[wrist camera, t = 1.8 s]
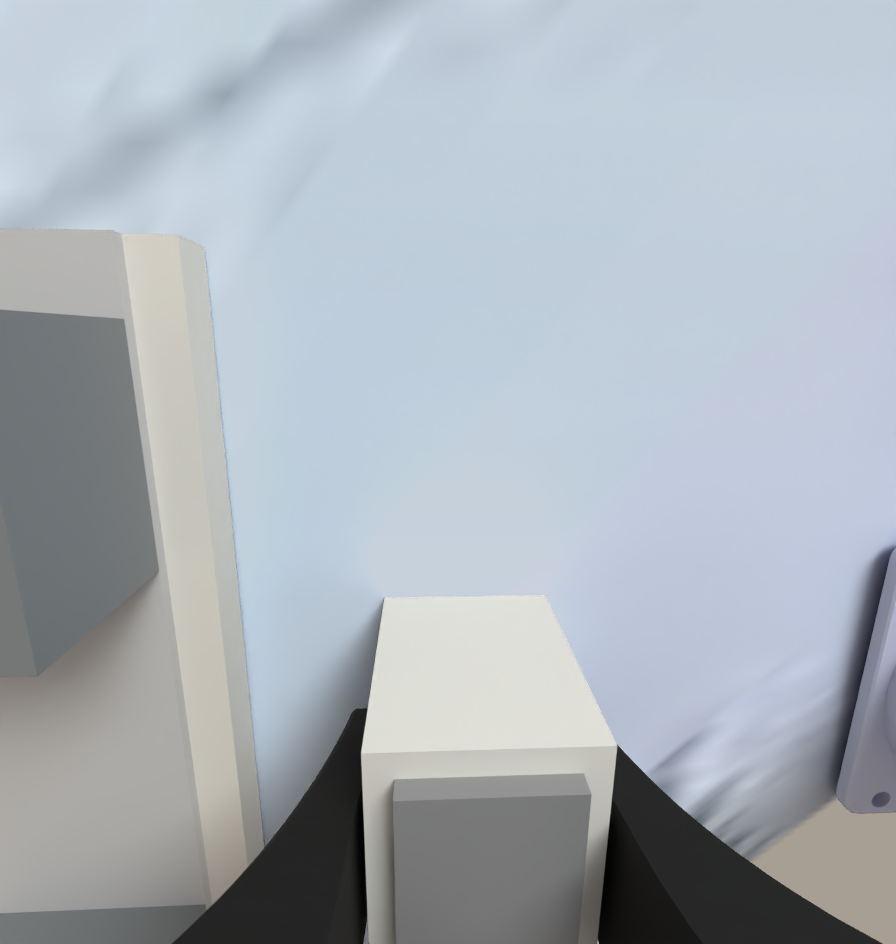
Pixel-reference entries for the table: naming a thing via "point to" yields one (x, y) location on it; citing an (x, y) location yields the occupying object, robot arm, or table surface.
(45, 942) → the board
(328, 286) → the table surface
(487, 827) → the module block
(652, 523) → the table surface
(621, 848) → the robot arm
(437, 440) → the table surface
